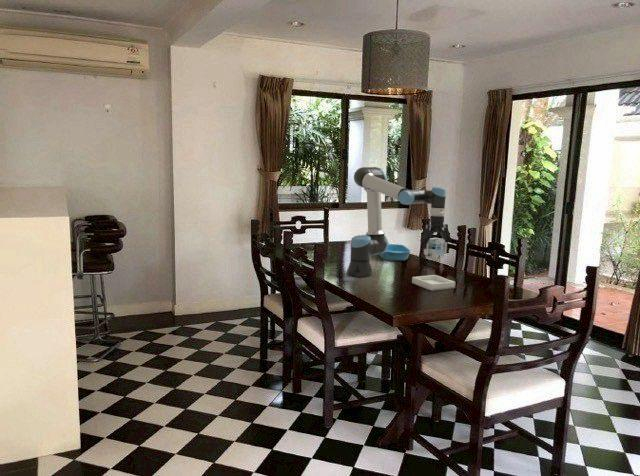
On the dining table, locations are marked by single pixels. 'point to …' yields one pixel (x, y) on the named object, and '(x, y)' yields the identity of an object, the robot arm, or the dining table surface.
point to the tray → (433, 282)
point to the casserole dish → (395, 252)
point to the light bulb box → (436, 248)
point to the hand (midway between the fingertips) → (435, 253)
